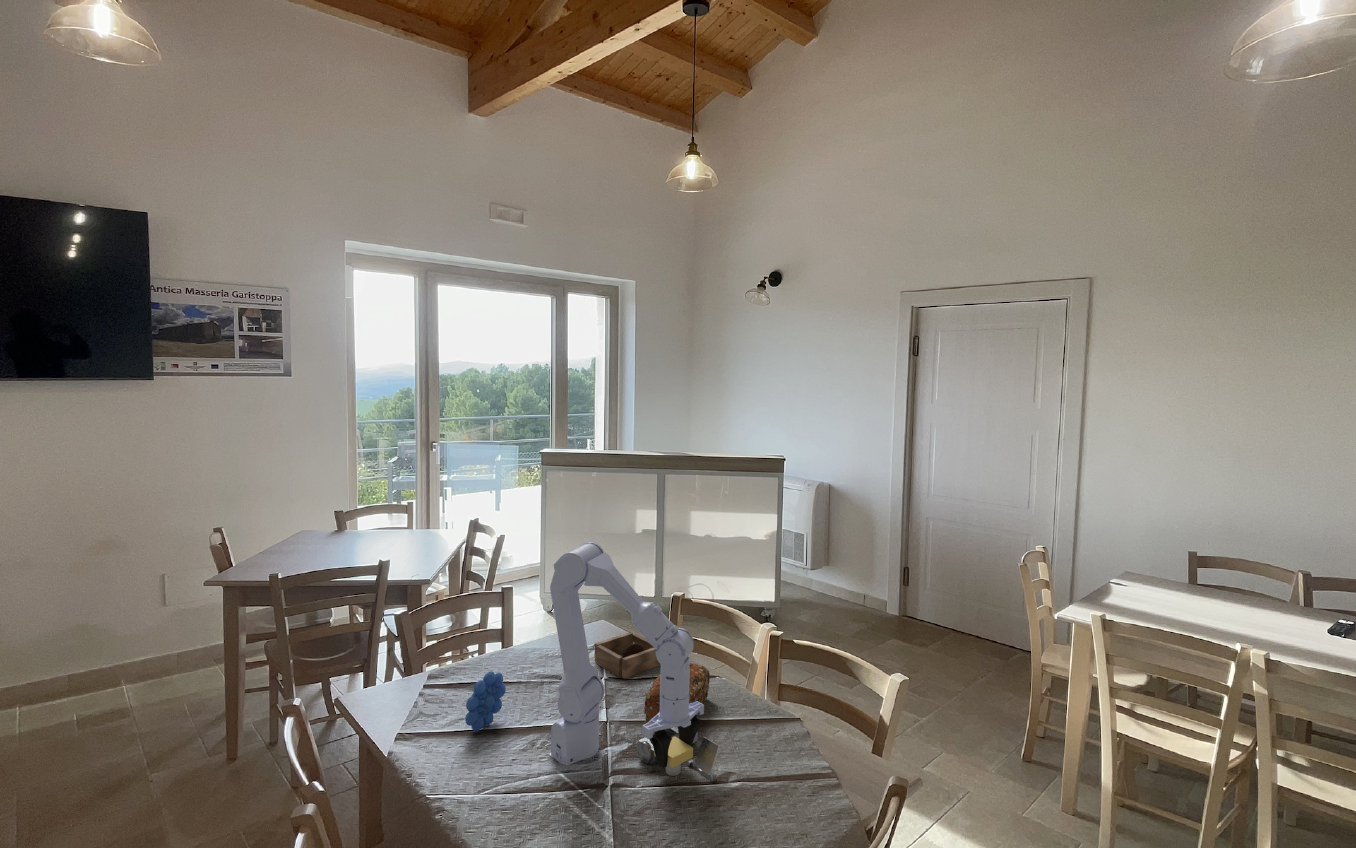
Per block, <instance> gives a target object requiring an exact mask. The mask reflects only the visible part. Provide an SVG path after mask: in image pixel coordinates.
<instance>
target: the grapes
mask: <svg viewBox="0 0 1356 848" xmlns="http://www.w3.org/2000/svg"><path fill="white" fill-rule="evenodd" d="M472 691H473V693H471V695H470V697H468V698H467V700H466V704H465V708H466V710H467V711H468V712H467V713H466V715H465V718H464V719H465V720H464V721H465V723H466V725H467V726H470V727H471V730H472V731H473V732H478V731H481V729H482V728H483V727H489V726H491V724H492V723H493V722H494V714H497V713H499V712H500V710H501V709H502V706H503V701H502V697H504V696H505V694H506V691H507V689H506V685H505V683H504V676H503V673H501V672H496V673H495V672H494V671H492V670H491V671H488V672H487V673H485V675H484V676H483V679H480V680H478V681H477V682H476V683H474V685H473V688H472Z"/></svg>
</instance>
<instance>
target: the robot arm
mask: <svg viewBox="0 0 1356 848" xmlns="http://www.w3.org/2000/svg"><path fill="white" fill-rule="evenodd" d="M553 568H554V572H553V576H552V579H551V583H550V586H549V588H550V589H549V591H550V596H551V601H552V602H551V603H552V608H553V615H554V620H555V625H556V631H557V637H558V643H559V649H560V655H561V660H562V667H563V674H562V677H561V680H560V683H559V685H558V690H559V696H558V700H557V709H558V712H559V714H560V715H561V717H560V718H559V719H558V720H557V721H555V722H554V723H553V724H552V725H551V727H550V728H551V729H550V730H551V731H550V752H549V753H548V757H549V758H551V759H554V760H555V761H557V762H558V763H559V764H561V765H564V766H566V767H567V766H570V765H572V764H574V763H577V762H580V761H582V760H587V759H590V758H593V757H594V756H596V754H597V753H598V752H599V748H600V745H599V744H600V736H599V735H600V728H599V727H600V709H599V708H600V702H601V700H603V698H604V695H605V690H606V689H605V685H604V683H603V681H602V680H601V677H600V675H599V672H598V671H599V670H598V669H597V667H595V666H594V665H592V664H591V662H590V655H589V649H588V644H587V637H586V632H585V631H586V630H585V626H584V625H585V624H584V619H583V613H582V608H581V602H580V596H579V590H580V588H582V586H586V587H600V588H603V589H604V590H605V591H606V592H607V593H609V594H610V595H611V596H612V597H613V599H615V601H617V602H618V603H619V604H620V605H621V606H622V607H623V608H624V609H625V610H626V611H627V612H628V613H629V614H630V615H631V624H632V625H633V627H634V628H636V630H637V631H638V632H639V633H640V634H641V636H642V637H644V638H646V639H647V640H648V641H649V643H650V644H651V645H652V644H653V643H654V644H653V645H652V646H653V647H654V648H655V649H656V650H657V651H656V657H657V660H658V661H659V663H660V670H659V671H660V673H659V675H660V712H659V713H658V714H657V715H656V716H655V717H654V718H652V719H651V720H650V721H649V722H648V723H646V722H645V724H642V725H641V726H642V730H641V731H642V736H643V737H644V738H645V737H646V738H648V739H650V741H651V743H652V746H653V748H654V751H655V755H656V759H657V761H656V763H657V765H659V766H660V767H661V768H665V769H666V767H667V762H668V750H669V746H670V743H671V740H672V738H671V737H670V736H668V735H667V732H665V729H668V728H673V727H678V731H679V739H680V740H682V741H683V742H685V743H686V744H688V745H689V746H691V747H692V746H693V744H694V743H693V740H694V738H695V735H696V733H697V731H698V732H699V729H700V728H701V727H702V720H701V719H699V717H697V715H699V716H702V715H705V705H704V704H702V703H700V702H698V701H697V702H694V703H690V704H689V681H690V670H689V666H690V663H691V661H690V660H691V659H690V655H691V654H692V653H693V650H694V647H695V642H694V638H693V636H692V634H691V633H690V632H689V630H687V629H686V628H683V627H679V626H678V625H676V624H674V623H673V622H672V621H671V620H670V619H669V618H668V617H667V616H666V615H665V614H664V613H663V612H662V611H663V608H662V607H661V606H660V605H655V603H654V602H652V601H651V602H650V601H644V600H643V599H642V597H640V595H639V594H638V593H637V592H636V590H635V589H634V588H633V587H632V585H630V583H629V582H628V580H626V578H625V577H624V576H623V575H622V574H621V572H620V571H619V570H618V568H616V566H615V565H614V562H613V561H612V558H611V556H610V555H609V553H607V552H606V551H604V549H603V548H602V547H601V546H600V545H599V544H598V543H596V542H593V541H588V542H585V543H582V544H581V545H580V546H578V547H577V548H575V549H572V550H570V551H568V552H565V553H564V554H562V555H561V556H560V557H559V558H558V559H557V560H556V561H555V563H554V564H553ZM692 743H693V744H692Z"/></svg>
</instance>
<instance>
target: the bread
mask: <svg viewBox="0 0 1356 848" xmlns="http://www.w3.org/2000/svg"><path fill="white" fill-rule="evenodd" d="M689 670H690V681H689V704H690V703H694V702H697V701H698V702H700V703H702V704H703V703H704V702H706V701H707V698H708V696H709V688H710V684H709V683H710V671H709V669H708V668H707V667H706V666H703V665H700V664H697V663H696V664H695V663H693V662H690V666H689ZM645 696H646V698H645V699H644V700H645V701H644V710H643V711H644V714H645V718H644V719H645V724H646V723H648V722H649V721H650V720H651V719H652V718H654V717H655V716H656V715H657V714H658V713H659V712H660V674H659V675H658V676H657V677H656V679H654V680H653V682H652V686H651V687H650V688H649V690H648V691H647V693H646V695H645ZM703 705H704V704H703Z"/></svg>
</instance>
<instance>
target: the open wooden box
mask: <svg viewBox="0 0 1356 848" xmlns="http://www.w3.org/2000/svg"><path fill="white" fill-rule="evenodd" d="M633 642H634V643H639V644H640V645H641V646H642V647H643V649H644V651H642V652H639V653H636V654H633V655H631V656H628V657H625V658H623V657H622V656H621V655H622V653H623V650H624V649H625V648H626V647H627V646H628V645H629V644H631V643H633ZM654 643H655V642H654ZM654 643H653V644H654ZM653 644H652V645H653ZM652 645H651V644H650V643H649V641H648V640H647V639H646V638H645V637H644V636H643V635H640V634H638V633H633V632H627V633H623V634H620V635H616V636H614V637H611V638H610V637H609V638H607V639H603V640H602V641H598V642H594V662H595V663H596V665H598V666H599V667H601V668H603V669H605V670H606V671H608V672H610V673H611V674H613V675H615V676H616V677H618V678H619V677H621V678H623V679H628V678H631V677H633V676H636V675H639V674H641V673H643V672H646V671H649V670H652V669H654V668H657V667H659V666H660V667H661V665H660V663H659V661H658V660H657V657H656V651H657V650H656V649H655V648H654V647H653V646H652Z"/></svg>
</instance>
